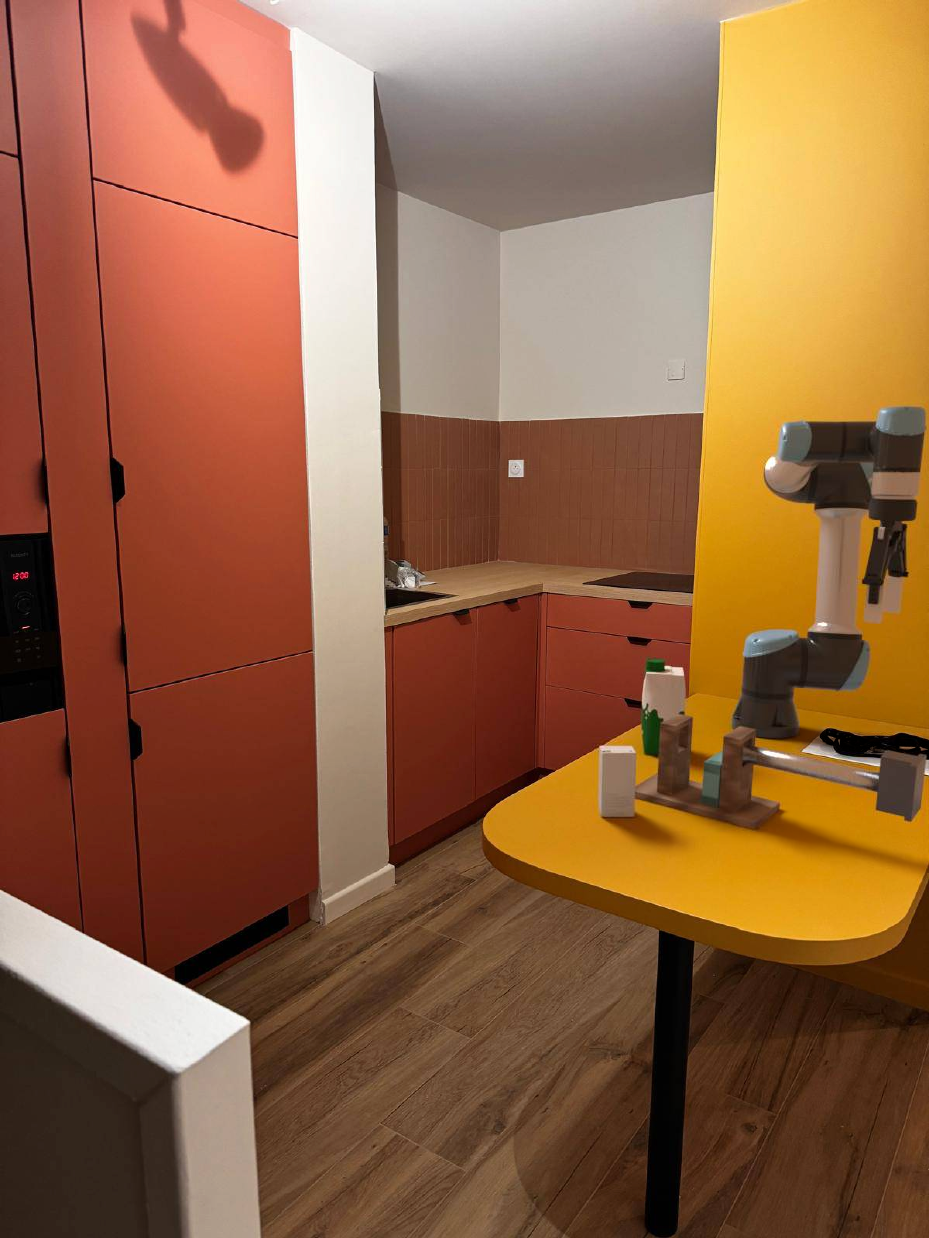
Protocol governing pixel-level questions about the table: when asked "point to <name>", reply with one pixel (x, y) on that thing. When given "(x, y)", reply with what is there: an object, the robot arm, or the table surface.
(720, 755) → the spacer ring
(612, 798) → the skincare box
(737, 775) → the bearing stand
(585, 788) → the table surface
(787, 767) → the shaft
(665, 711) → the milk carton
